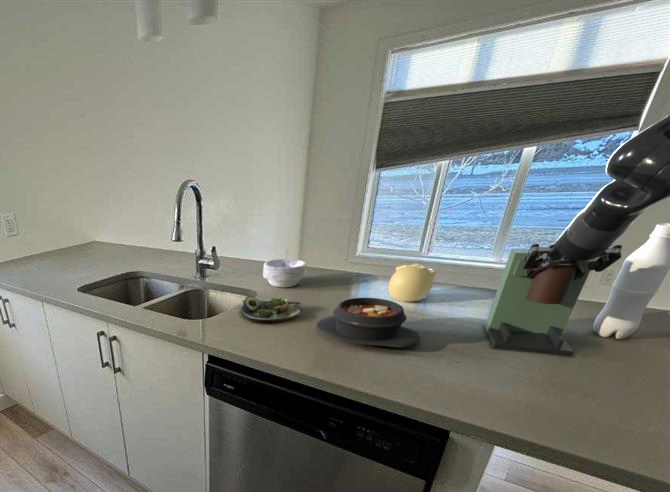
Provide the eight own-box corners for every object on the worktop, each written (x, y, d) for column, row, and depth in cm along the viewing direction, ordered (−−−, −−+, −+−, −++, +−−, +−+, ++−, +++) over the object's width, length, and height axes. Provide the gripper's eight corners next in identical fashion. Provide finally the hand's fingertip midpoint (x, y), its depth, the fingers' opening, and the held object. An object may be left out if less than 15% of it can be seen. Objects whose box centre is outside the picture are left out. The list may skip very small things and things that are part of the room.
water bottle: (583, 328, 101) (634, 222, 88) (620, 329, 98) (678, 221, 86) (599, 339, 95) (656, 228, 82) (639, 341, 93) (704, 227, 80)
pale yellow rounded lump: (433, 296, 127) (442, 262, 122) (420, 307, 121) (429, 271, 115) (394, 290, 135) (402, 258, 129) (380, 300, 128) (387, 266, 123)
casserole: (303, 337, 109) (306, 308, 105) (334, 316, 120) (338, 289, 116) (403, 362, 93) (411, 329, 89) (429, 336, 104) (437, 304, 100)
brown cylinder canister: (539, 293, 94) (554, 256, 90) (571, 301, 89) (588, 262, 85) (519, 297, 93) (533, 260, 89) (549, 306, 87) (566, 266, 83)
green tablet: (484, 326, 106) (511, 248, 96) (553, 332, 100) (590, 249, 90) (493, 348, 96) (524, 263, 86) (571, 356, 90) (615, 265, 80)
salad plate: (289, 300, 136) (290, 286, 133) (314, 318, 120) (316, 303, 118) (233, 307, 134) (233, 293, 132) (252, 326, 119) (252, 311, 116)
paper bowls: (300, 277, 157) (302, 256, 153) (308, 289, 144) (311, 266, 140) (260, 279, 158) (261, 259, 155) (265, 291, 145) (266, 269, 141)
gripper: (649, 212, 72) (595, 262, 87) (546, 213, 79) (512, 260, 93) (647, 249, 71) (593, 293, 86) (542, 247, 77) (508, 289, 92)
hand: (551, 276), depth 90 cm, fingers closed on brown cylinder canister, 6 cm apart
